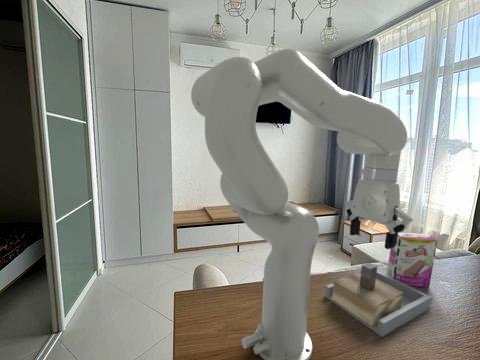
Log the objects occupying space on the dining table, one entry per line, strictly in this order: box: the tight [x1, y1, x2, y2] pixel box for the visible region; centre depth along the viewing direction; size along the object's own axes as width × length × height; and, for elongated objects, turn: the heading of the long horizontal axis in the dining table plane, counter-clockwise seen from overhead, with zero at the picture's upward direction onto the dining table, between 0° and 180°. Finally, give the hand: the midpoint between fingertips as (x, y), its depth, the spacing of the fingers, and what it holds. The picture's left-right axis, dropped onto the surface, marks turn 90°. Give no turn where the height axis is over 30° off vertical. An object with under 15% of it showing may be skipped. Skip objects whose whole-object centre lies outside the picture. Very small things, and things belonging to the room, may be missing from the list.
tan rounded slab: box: [332, 262, 403, 327], centre depth 67 cm, size 12×12×12 cm
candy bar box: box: [386, 231, 439, 289], centre depth 80 cm, size 11×5×16 cm, turn 84°
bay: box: [324, 270, 433, 338], centre depth 71 cm, size 22×17×4 cm
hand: (370, 240), depth 65 cm, fingers open, 9 cm apart
